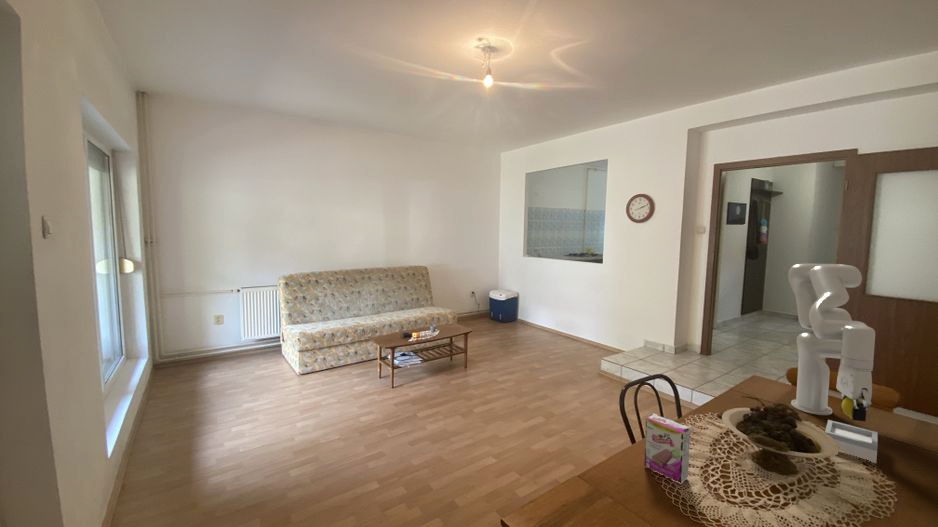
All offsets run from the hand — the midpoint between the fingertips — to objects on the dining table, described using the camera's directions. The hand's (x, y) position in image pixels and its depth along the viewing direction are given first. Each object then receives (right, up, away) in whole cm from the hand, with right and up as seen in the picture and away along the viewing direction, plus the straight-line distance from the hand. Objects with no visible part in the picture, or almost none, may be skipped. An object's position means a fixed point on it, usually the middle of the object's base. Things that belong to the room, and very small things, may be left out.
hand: (852, 415), depth 126 cm
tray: (0, -11, +1) cm, 12 cm away
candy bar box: (-68, -13, -11) cm, 70 cm away
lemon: (0, -2, 0) cm, 1 cm away
